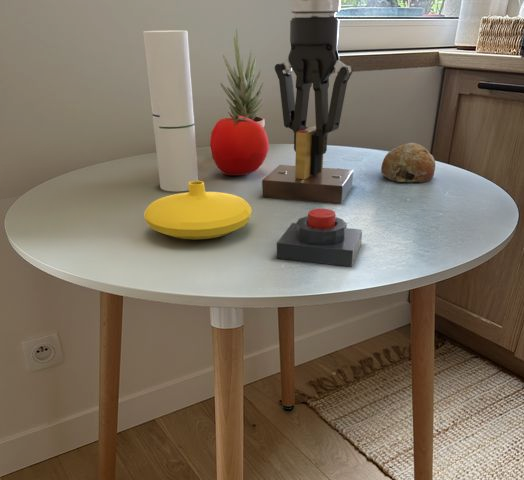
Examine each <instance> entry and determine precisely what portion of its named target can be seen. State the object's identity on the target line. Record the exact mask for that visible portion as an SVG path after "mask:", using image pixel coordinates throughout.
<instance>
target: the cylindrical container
mask: <svg viewBox="0 0 524 480" xmlns="http://www.w3.org/2000/svg"><path fill="white" fill-rule="evenodd" d="M188 32H189V31H188V30H181V29H180V30H179V29H177V30H176V29H174V30H172V29H171V30H168V29H167V30H165V29H164V30H145V31H142V34H143V44H144V52H145V60H146V61H145V62H146V71H147V78H148V79H147V80H148V87H149V88H148V89H149V96H150V105H151V107H150V108H151V114H152V124H153V133H154V142H155V150H156V161H157V170H158V178H159V186H160V189H161V190H163V191H167V192H176V193H177V192H189V182H192V181H199V168H198V155H197V154H198V153H197V142H196V129H195V127H196V125H195V114H194V99H193V88H192V87H193V86H192V76H191V75H192V74H191V61H190V46H189V33H188Z"/></svg>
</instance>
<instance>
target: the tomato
mask: <svg viewBox="0 0 524 480" xmlns="http://www.w3.org/2000/svg"><path fill="white" fill-rule="evenodd" d="M227 114H228V115H229V116H230V117H232V118H230V117H224V118H220V119H219V120H218V121H217V122H216V124H215V125H214V127H213V128H212V131H211V132H210V143H209V147H210V153H211V158H212V160H213V162H214V163H215V166H216V167H217V168H218V170H219V171H220V172H222V173H223V174H224V175H227V176H244V175H247V174H252V173H254V172H256V171H257V170H258V169H259V168H260V167H261V166H262V165H263V164H264V161H265V160H266V158H267V156H268V153H269V149H270V146H269V145H270V143H269V138H268V135H267V132H266V130H265V128H264V127H262V126H261V125H260V124H259V123H258V122H255V121H253V120H251V119H249V118H248V117H242V116H238V115H235V117H234V116H233V114H232V113H231V112H229V111H227Z"/></svg>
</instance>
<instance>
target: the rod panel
mask: <svg viewBox="0 0 524 480" xmlns="http://www.w3.org/2000/svg"><path fill="white" fill-rule="evenodd" d="M353 181H354V169H349V168H348V169H347V168H334V167H333V168H332V167H323V169H322V171H321V172H319V173H317V174H315V175H312V176H310V177H308V178H306V179H297V178H295V165H289V164H279V165H278V166H277V167H275V168H274V169H273V170H272V171H271V172H269V173H268V175H266V176H265V177H264V178H263V179H262V182H261V190H262V192H261V193H262V198H270V199H281V200H292V201H305V202H316V203H329V204H339V205H342V203H343V202H344V200H345V199H346V197H347V195H348V194H349V192H350V191H351V189H352V187H353Z"/></svg>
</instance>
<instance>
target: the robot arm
mask: <svg viewBox="0 0 524 480" xmlns="http://www.w3.org/2000/svg"><path fill="white" fill-rule="evenodd" d="M340 11H341V0H290V12H291V13H292V14H294V17H292V18H291V20H290V21H289V22H290V23H289V43H290V51H289V53H288V56H287V59H286V60H284V61H282V62H280V63H276V64H275V65H274V71H275V74H276V76H277V78H278V83H279V92H280V93H279V94H280V103H281V111H282V120H283V126H284V127H285V128H286V129H287V128H288V129H290V130H292V131H293V150H294V153H296V132H298V131H299V130H305V129H308V128H309V127H308V126H307V120H308V112H309V111H308V110H309V102H310V91H311V88H312V90H313V91H314V114H315V126H316V132H314V135H312V142H311V169H310V175H315V174H317V173H319V172H321V163H322V154H323V155H324V154H326V152H327V150H328V149H327V148H328V135H329V133H331V132H334V131H336V130H339V127H340V122H341V117H342V113H343V107H344V102H345V96H346V91H347V86H348V82H349V80H350V78H351V76H352V74H353V72H354V67H353V66H352V65H347V64H346V63H344V62H343V61H341V60H340V55H339V52H338V44H339V32H340V19H339V17H336V14H338V13H340ZM333 72H334V77H335V79H334V83H333V85H332V92H331V97H330V103H329V87H330V77H331V75H332V74H333ZM292 73H294V74H295V76H296V77H295V78H296V79H295V89H296V93H295V90H294V81H293V75H292Z"/></svg>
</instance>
